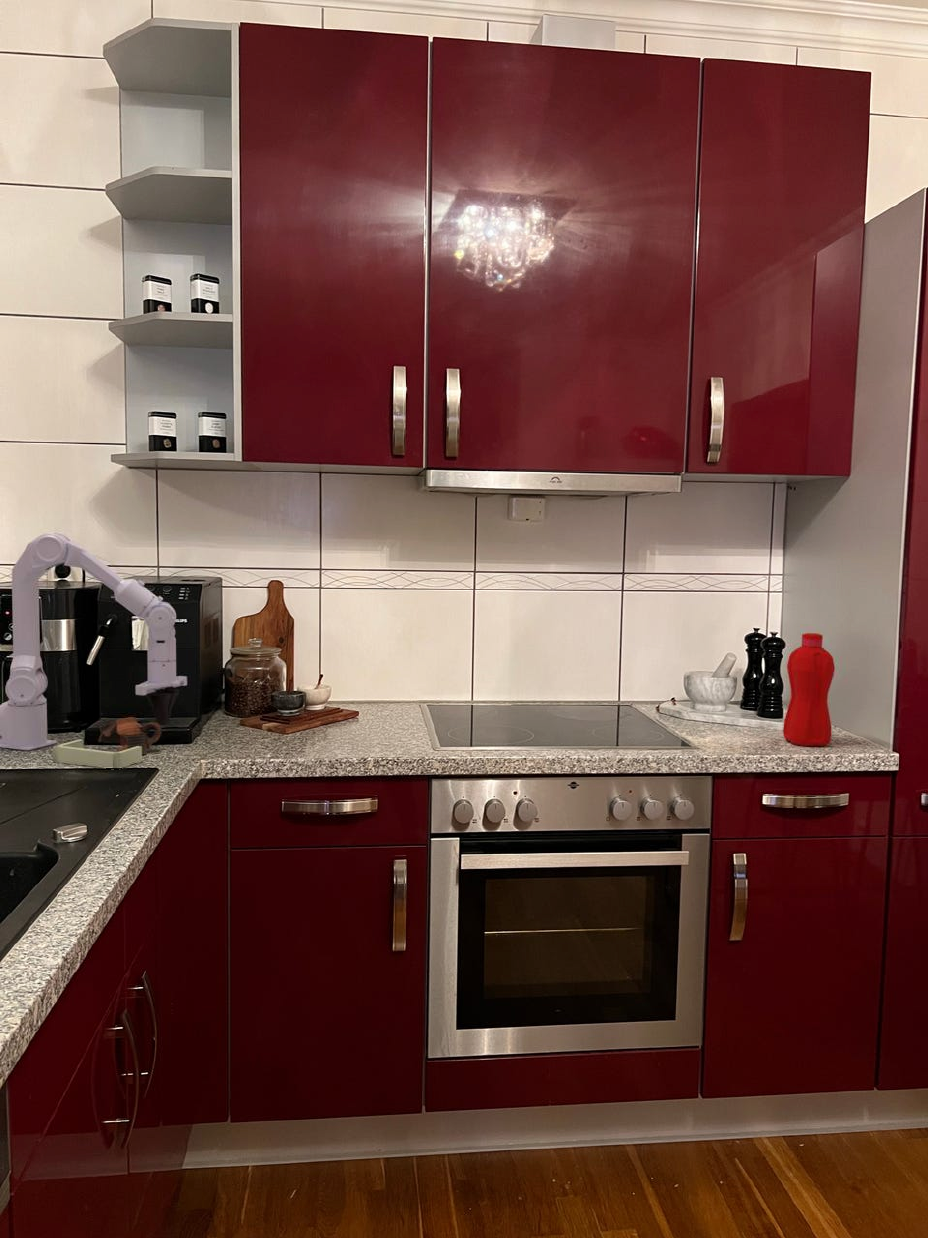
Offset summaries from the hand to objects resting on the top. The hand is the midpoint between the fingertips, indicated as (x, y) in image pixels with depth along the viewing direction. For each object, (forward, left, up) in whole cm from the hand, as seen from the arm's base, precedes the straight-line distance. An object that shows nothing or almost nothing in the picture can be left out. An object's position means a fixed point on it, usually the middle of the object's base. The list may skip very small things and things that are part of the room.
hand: (162, 723), depth 198 cm
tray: (0, -20, -4) cm, 20 cm away
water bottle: (+129, +60, -4) cm, 142 cm away
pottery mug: (0, -11, -4) cm, 11 cm away
